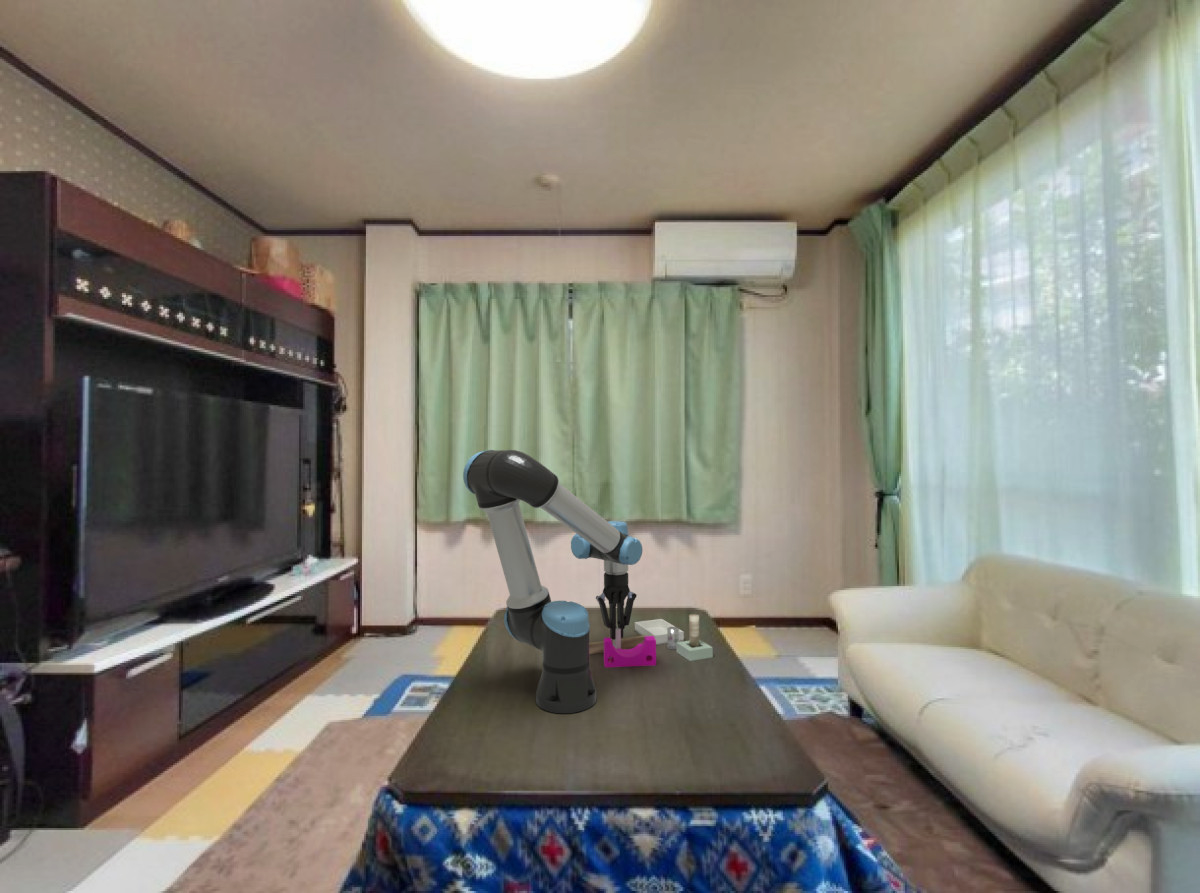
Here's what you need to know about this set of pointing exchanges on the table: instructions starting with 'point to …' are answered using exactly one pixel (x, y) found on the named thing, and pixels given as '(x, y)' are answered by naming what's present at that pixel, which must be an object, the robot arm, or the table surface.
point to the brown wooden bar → (625, 643)
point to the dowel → (693, 630)
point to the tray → (656, 630)
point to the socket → (694, 650)
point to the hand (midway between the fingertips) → (616, 649)
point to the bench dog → (672, 637)
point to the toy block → (630, 654)
